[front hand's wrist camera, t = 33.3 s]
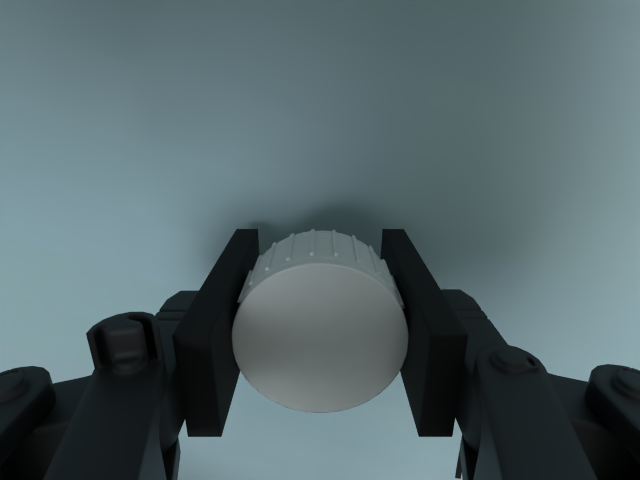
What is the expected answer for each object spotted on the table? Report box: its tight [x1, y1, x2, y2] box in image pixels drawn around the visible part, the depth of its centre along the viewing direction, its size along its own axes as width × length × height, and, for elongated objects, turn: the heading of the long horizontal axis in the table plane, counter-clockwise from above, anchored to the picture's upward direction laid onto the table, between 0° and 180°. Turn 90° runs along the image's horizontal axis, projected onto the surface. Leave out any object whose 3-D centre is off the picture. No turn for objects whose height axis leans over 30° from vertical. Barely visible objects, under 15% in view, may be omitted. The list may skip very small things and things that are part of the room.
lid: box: [232, 229, 409, 413], centre depth 11 cm, size 5×5×2 cm
